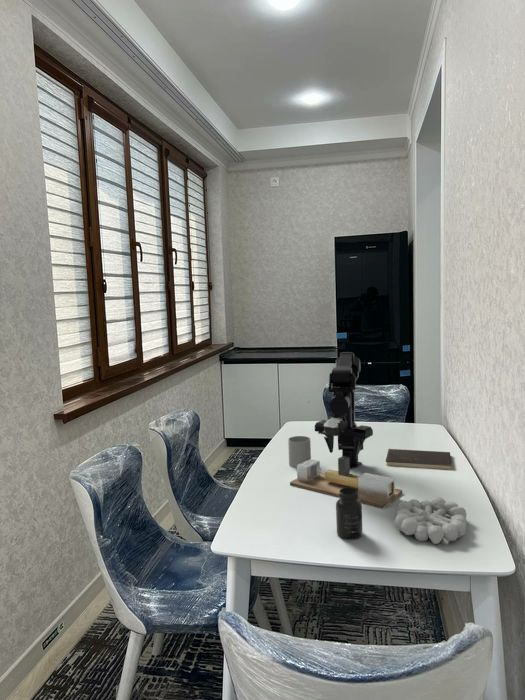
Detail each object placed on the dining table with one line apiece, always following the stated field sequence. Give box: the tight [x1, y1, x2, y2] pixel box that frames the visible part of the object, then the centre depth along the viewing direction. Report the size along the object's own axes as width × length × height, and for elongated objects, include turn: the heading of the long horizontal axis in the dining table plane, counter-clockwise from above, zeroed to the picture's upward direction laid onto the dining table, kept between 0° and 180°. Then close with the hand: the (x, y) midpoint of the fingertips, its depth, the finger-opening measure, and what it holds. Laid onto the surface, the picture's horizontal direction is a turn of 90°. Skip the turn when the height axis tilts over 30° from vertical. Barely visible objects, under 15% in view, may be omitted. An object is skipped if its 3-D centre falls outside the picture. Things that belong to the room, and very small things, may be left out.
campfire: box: [393, 496, 468, 545], centre depth 137 cm, size 22×21×6 cm
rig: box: [296, 458, 396, 500], centre depth 166 cm, size 8×32×5 cm, turn 51°
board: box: [289, 471, 403, 509], centre depth 166 cm, size 14×34×1 cm, turn 51°
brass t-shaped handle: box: [324, 455, 392, 494], centre depth 162 cm, size 3×22×8 cm, turn 51°
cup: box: [287, 435, 312, 469], centre depth 191 cm, size 8×8×10 cm
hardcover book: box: [385, 448, 453, 470], centre depth 191 cm, size 16×23×2 cm
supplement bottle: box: [335, 488, 363, 541], centre depth 134 cm, size 7×7×12 cm
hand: (343, 454), depth 165 cm, fingers open, 9 cm apart
